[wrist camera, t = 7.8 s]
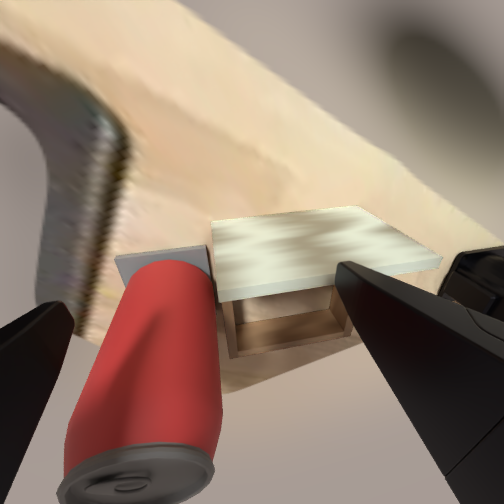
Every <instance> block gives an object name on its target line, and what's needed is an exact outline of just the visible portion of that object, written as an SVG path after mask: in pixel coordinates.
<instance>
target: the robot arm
mask: <svg viewBox="0 0 504 504" xmlns="http://www.w3.org/2000/svg"><path fill="white" fill-rule="evenodd" d="M334 283H335V287H336V290H337V292H338V294H339V296H340V298H341V300H342V303H343V305H344V307H345V309H346V311H347V313H348V316H349V318H350V320H351V322H352V324H353V326H354V327H355V329H356V331H357V332H358V334H359V336H360V337H361V339H362V341H363V342H364V344H365V346H366V347H367V349H368V351H369V352H370V354H371V356H372V357H373V359H374V360H375V362H376V364H377V366H378V367H379V369H380V371H381V372H382V374H383V376H384V377H385V379H386V381H387V382H388V384H389V386H390V387H391V389H392V391H393V392H394V394H395V396H396V397H397V399H398V401H399V402H400V404H401V406H402V407H403V409H404V411H405V412H406V414H407V416H408V417H409V419H410V421H411V422H412V424H413V426H414V427H415V429H416V431H417V432H418V434H419V436H420V437H421V439H422V441H423V442H424V444H425V446H426V447H427V449H428V451H429V452H430V454H431V456H432V457H433V459H434V461H435V462H436V464H437V466H438V467H439V469H440V471H441V472H442V474H443V475H444V476H445V480H446V481H447V483H448V485H449V486H450V488H451V490H452V491H453V493H454V494H455V496H456V498H457V499H458V501H459V503H460V504H504V246H499V247H492V248H486V249H479V250H472V251H465V252H461V253H460V254H459V255H458V256H457V258H456V260H455V262H454V264H453V266H452V268H451V270H450V273H449V275H448V277H447V279H446V281H445V283H444V285H443V287H442V289H441V291H440V293H439V295H438V296H437V295H434V294H432V293H429V292H427V291H425V290H422V289H420V288H417V287H415V286H412V285H410V284H407V283H405V282H402V281H400V280H397V279H395V278H392V277H390V276H387V275H385V274H382V273H380V272H377V271H375V270H372V269H370V268H368V267H365V266H363V265H360V264H358V263H355V262H353V261H342V262H339V263H338V264H337V268H336V274H335V280H334ZM452 301H457V302H458V303H459V304H461V305H459V304H457V303H454V302H452ZM74 325H75V323H74V319H73V317H72V315H71V314H70V312H69V310H68V309H67V307H66V305H65V304H64V303H63V302H62V301H51V302H46V303H43V304H41V305H40V306H38V307H36V308H34V309H33V310H31V311H29V312H28V313H26V314H24V315H22V316H21V317H19V318H17V319H16V320H14V321H12V322H11V323H9V324H7V325H6V326H4V327H2V328H0V504H4V502H5V499H6V497H7V495H8V492H9V490H10V488H11V486H12V483H13V481H14V479H15V476H16V474H17V472H18V469H19V467H20V465H21V462H22V460H23V458H24V455H25V453H26V451H27V448H28V446H29V444H30V441H31V439H32V437H33V434H34V432H35V430H36V428H37V425H38V423H39V420H40V418H41V416H42V414H43V411H44V409H45V407H46V404H47V402H48V399H49V397H50V395H51V393H52V390H53V388H54V386H55V383H56V381H57V379H58V376H59V373H60V370H61V368H62V365H63V361H64V358H65V355H66V352H67V349H68V345H69V342H70V339H71V336H72V333H73V329H74Z"/></svg>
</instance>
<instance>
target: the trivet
mask: <svg viewBox="0 0 504 504" xmlns="http://www.w3.org/2000/svg"><path fill="white" fill-rule="evenodd" d="M114 260H115V263H116V265H117V268H118V270H119V273H120V275H121V278H122V280H123V283H124V285H125V288H126V287H127V284H128V282H129V280H130V278H131V276H132V275H133V274H135V273H136V272H137V271H138V270H139V269H140V268H141V267H144V266H146V265H148V264H150V263H153V262H155V261H162V260H178V261H184V262H187V263H190V264H192V265H195V266H196V267H198V268H199V269H200V270H202V271H203V272H204V273H205V274H206V275H207V276H208V278H209V279H210V281H211V275H210V269H209V263H208V257H207V250H206V245H200V246H192V247H184V248H176V249H168V250H160V251H151V252H143V253H135V254H127V255H119V256H116V257H115V259H114ZM211 282H212V281H211ZM215 313H216V306H215ZM216 315H217V314H216Z"/></svg>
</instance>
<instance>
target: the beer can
mask: <svg viewBox="0 0 504 504" xmlns="http://www.w3.org/2000/svg"><path fill="white" fill-rule="evenodd" d="M222 416H223V409H222V394H221V381H220V367H219V353H218V340H217V326H216V313H215V299H214V290H213V285H212V282H211V281H210V279H209V278H208V276H207V275H206V274H205V273H204V272H203V271H202V270H200V269H199V268H198V267H196V266H195V265H192V264H190V263H187V262H184V261H178V260H162V261H155V262H153V263H150V264H148V265H146V266H144V267H141V268H140V269H139V270H138V271H137V272H136V273H135V274H133V275H132V276H131V278H130V280H129V282H128V284H127V287H126V289H125V291H124V294H123V296H122V298H121V301H120V303H119V305H118V308H117V310H116V312H115V315H114V317H113V320H112V322H111V324H110V327H109V329H108V331H107V334H106V336H105V338H104V341H103V343H102V346H101V348H100V350H99V353H98V355H97V357H96V360H95V362H94V365H93V367H92V369H91V372H90V374H89V376H88V379H87V381H86V383H85V386H84V388H83V390H82V393H81V395H80V398H79V400H78V402H77V405H76V407H75V409H74V412H73V414H72V416H71V419H70V421H69V424H68V429H67V434H66V439H65V444H64V445H65V446H64V447H65V448H64V479H63V481H62V482H61V484H60V486H59V488H58V490H57V492H56V494H57V497H58V500H59V503H60V504H179V503H181V502H183V501H186V500H188V499H189V498H191V497H193V496H195V495H196V494H198V493H200V492H201V491H202V490H203V489H204V488H205V487H206V486H207V485H208V484H209V483H210V481H211V480H212V477H213V475H214V472H215V468H214V465H213V462H212V461H213V458H214V454H215V451H216V447H217V443H218V439H219V435H220V431H221V424H222Z"/></svg>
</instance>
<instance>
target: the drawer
mask: <svg viewBox="0 0 504 504" xmlns="http://www.w3.org/2000/svg"><path fill="white" fill-rule="evenodd" d="M211 228H212V239H213V250H214V260H215V271H216V282H217V292H218V299H219V303H221V302H222V309H223V316H224V323H225V330H226V337H227V344H228V351H229V358H230V359H233V358H238V357H243V356H248V355H253V354H259V353H264V352H269V351H274V350H280V349H285V348H290V347H295V346H301V345H306V344H311V343H316V342H322V341H327V340H332V339H337V338H342V337H348V336H351V332H352V328H353V324H352V322H351V320H350V318H349V316H348V313H347V311H346V309H345V307H344V305H343V303H342V300H341V298H340V296H339V294H338V292H337V290H336V287H335V283H334V280H335V274H336V268H337V264H338V263H339V262H342V261H353V262H355V263H358V264H360V265H363V266H365V267H368V268H370V269H372V270H375V271H377V272H380V273H382V274H385V275H387V276H392V275H399V274H405V273H411V272H418V271H424V270H430V269H437V268H439V265H440V263H441V261H442V259H443V257H442V256H440V255H439V254H437V253H435V252H434V251H432V250H430V249H429V248H427V247H425V246H424V245H422V244H420V243H419V242H417V241H415V240H414V239H412V238H410V237H409V236H407V235H405V234H404V233H402V232H400V231H399V230H397V229H395V228H394V227H392V226H390V225H389V224H387V223H385V222H384V221H382V220H380V219H379V218H377V217H375V216H374V215H372V214H370V213H369V212H367V211H365V210H364V209H362V208H360V207H359V206H357V205H354V206H345V207H336V208H326V209H317V210H308V211H299V212H290V213H281V214H272V215H263V216H254V217H244V218H235V219H226V220H217V221H211ZM329 285H333V291H332V296H331V302H330V308H329V309H327V310H321V311H315V312H309V313H303V314H298V315H292V316H286V317H280V318H274V319H268V320H263V321H257V322H251V323H245V324H239V325H235V321H234V312H233V303H232V301H233V300H240V299H246V298H252V297H259V296H265V295H271V294H278V293H284V292H291V291H297V290H303V289H310V288H316V287H322V286H329Z"/></svg>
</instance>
